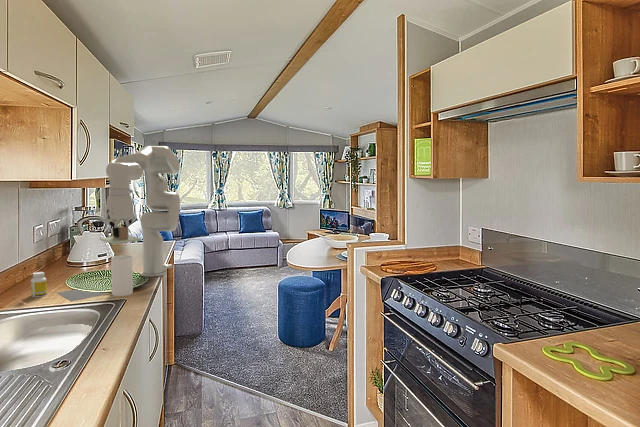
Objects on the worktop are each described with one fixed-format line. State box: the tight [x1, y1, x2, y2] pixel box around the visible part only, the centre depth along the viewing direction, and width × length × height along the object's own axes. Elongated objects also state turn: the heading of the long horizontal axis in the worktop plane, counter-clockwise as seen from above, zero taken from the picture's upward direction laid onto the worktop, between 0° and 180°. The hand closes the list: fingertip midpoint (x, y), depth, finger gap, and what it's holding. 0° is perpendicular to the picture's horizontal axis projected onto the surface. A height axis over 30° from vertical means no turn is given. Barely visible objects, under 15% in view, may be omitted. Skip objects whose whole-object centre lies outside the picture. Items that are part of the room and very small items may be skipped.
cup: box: [110, 254, 134, 297], centre depth 188 cm, size 8×8×16 cm
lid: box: [99, 225, 142, 245], centre depth 185 cm, size 12×12×6 cm
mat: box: [56, 288, 112, 302], centre depth 187 cm, size 16×16×1 cm
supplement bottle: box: [30, 271, 48, 298], centre depth 181 cm, size 5×5×10 cm
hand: (120, 236), depth 185 cm, fingers closed on lid, 3 cm apart
